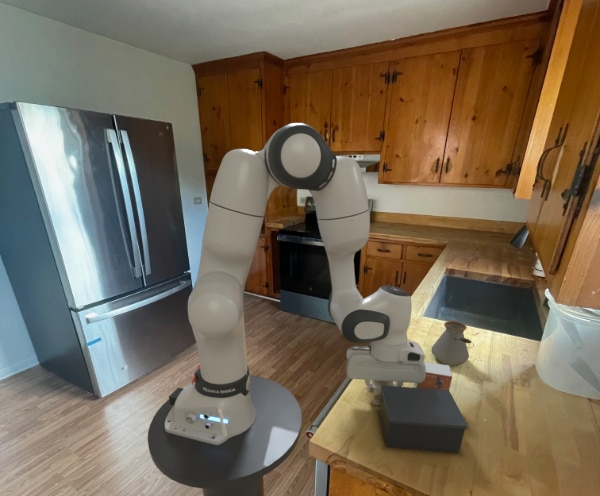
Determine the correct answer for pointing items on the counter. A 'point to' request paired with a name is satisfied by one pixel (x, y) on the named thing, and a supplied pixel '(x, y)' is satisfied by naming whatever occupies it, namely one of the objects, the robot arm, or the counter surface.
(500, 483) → the counter surface
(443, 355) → the coffee pot
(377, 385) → the beige cube block
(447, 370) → the small box
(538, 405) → the counter surface
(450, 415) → the storage box
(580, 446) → the counter surface
